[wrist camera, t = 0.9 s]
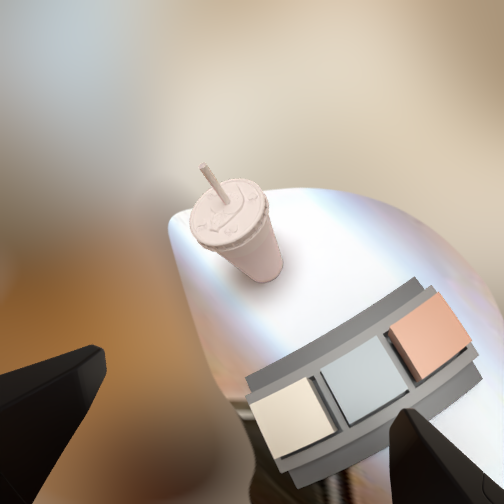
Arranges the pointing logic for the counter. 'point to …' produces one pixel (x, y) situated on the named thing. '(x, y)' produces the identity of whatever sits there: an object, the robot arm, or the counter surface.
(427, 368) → the key terracotta
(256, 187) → the smoothie
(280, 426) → the key ivory
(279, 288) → the counter surface
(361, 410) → the key slate
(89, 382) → the robot arm
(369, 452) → the keypad
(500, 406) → the counter surface
